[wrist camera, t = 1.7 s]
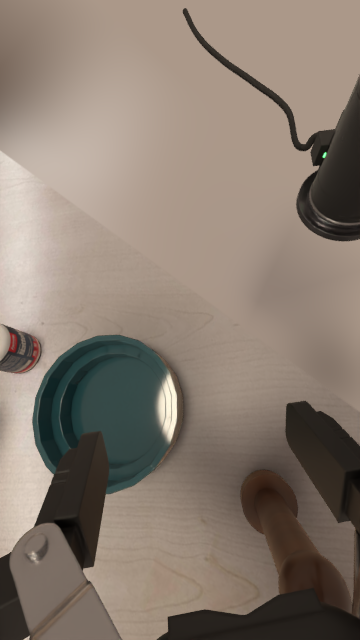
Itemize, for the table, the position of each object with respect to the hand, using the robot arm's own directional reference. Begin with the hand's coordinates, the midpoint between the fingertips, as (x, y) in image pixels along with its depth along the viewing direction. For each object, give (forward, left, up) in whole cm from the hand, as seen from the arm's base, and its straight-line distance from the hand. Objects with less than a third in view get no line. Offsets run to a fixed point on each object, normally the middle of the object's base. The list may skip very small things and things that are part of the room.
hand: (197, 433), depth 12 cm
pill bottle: (-8, -25, -21) cm, 33 cm away
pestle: (+8, +5, -21) cm, 23 cm away
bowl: (-1, -11, -21) cm, 23 cm away
